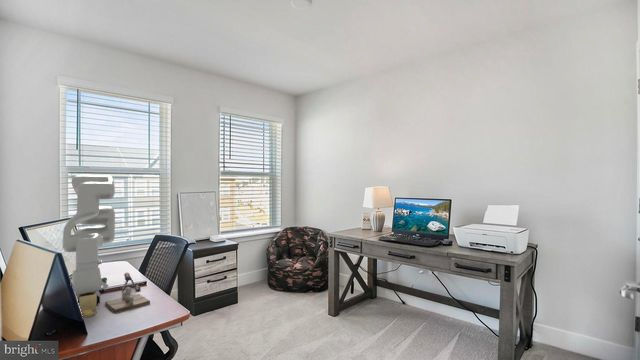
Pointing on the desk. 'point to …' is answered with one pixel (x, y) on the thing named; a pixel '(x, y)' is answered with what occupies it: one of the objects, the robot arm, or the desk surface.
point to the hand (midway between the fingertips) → (85, 307)
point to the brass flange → (88, 303)
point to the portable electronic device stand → (127, 278)
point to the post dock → (127, 302)
